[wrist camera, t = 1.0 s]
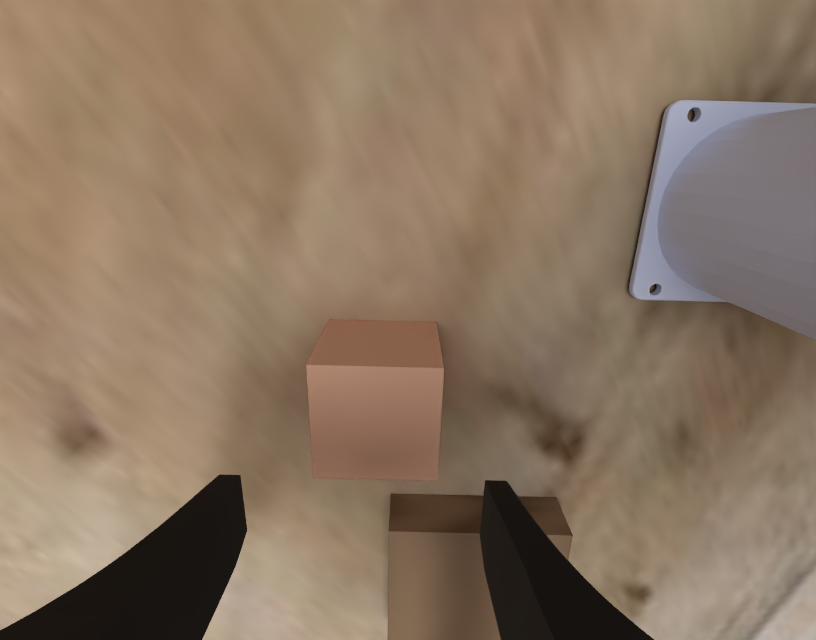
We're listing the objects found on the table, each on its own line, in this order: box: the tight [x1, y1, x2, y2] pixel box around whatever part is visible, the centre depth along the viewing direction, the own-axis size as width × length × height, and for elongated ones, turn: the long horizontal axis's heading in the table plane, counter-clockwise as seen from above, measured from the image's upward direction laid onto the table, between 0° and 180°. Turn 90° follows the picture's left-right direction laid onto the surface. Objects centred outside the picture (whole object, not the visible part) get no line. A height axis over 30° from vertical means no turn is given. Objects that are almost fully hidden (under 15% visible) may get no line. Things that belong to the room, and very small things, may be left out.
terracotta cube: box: [306, 319, 444, 481], centre depth 19 cm, size 5×5×5 cm
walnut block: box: [388, 494, 573, 640], centre depth 24 cm, size 9×9×3 cm
